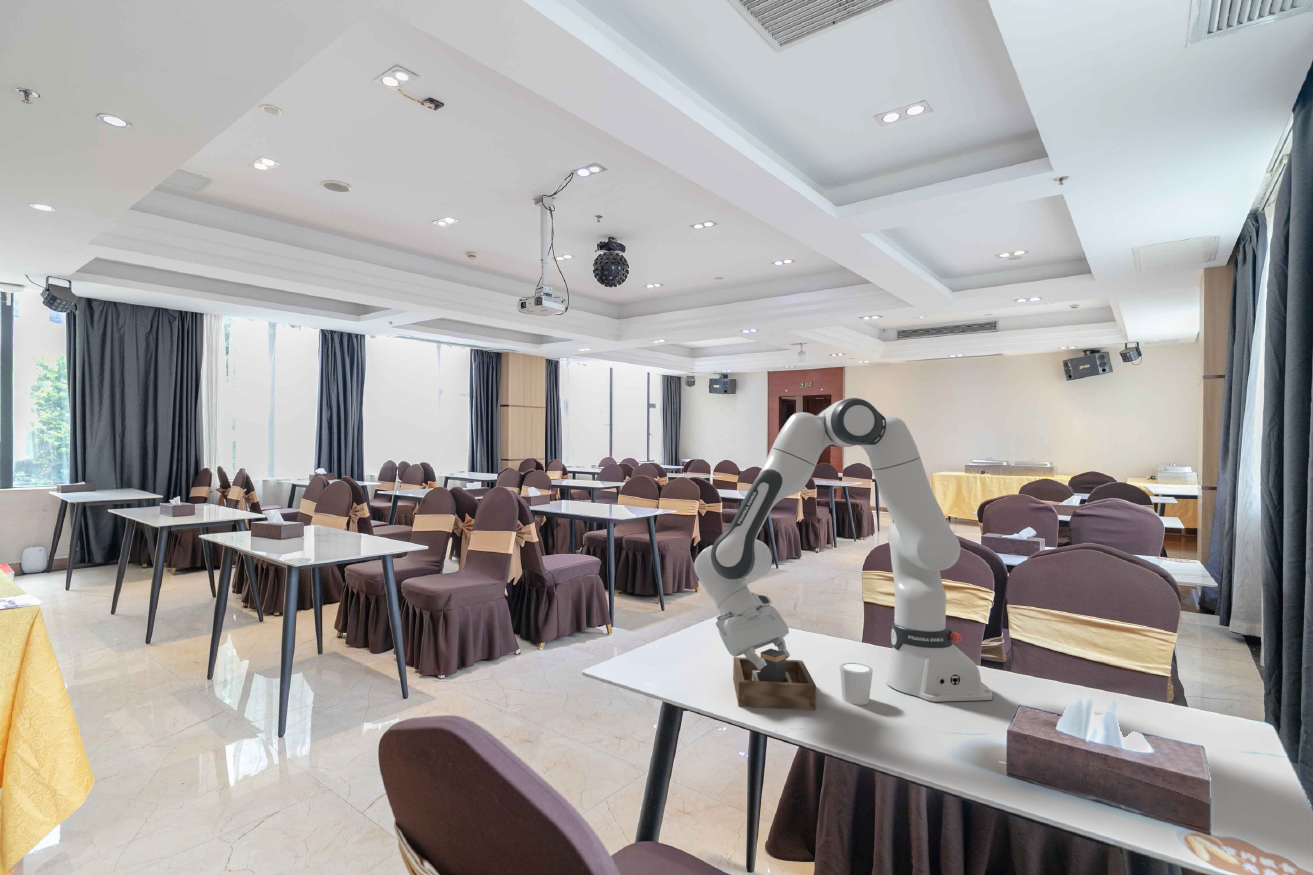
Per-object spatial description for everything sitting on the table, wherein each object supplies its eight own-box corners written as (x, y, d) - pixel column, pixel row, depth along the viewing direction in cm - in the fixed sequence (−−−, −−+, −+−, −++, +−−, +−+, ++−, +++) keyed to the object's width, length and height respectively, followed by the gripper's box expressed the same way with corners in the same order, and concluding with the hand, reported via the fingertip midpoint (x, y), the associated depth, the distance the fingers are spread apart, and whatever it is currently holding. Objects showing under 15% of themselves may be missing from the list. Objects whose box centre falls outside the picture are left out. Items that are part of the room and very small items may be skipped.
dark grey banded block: (769, 683, 143) (770, 648, 143) (785, 688, 140) (786, 652, 140) (759, 688, 140) (760, 652, 140) (775, 693, 137) (776, 656, 137)
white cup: (872, 696, 140) (872, 664, 140) (871, 707, 134) (872, 674, 134) (839, 691, 142) (840, 660, 143) (838, 702, 136) (839, 670, 136)
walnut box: (801, 681, 148) (802, 660, 148) (815, 710, 132) (816, 685, 132) (733, 678, 148) (733, 657, 148) (738, 705, 132) (739, 682, 133)
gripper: (721, 609, 137) (757, 666, 131) (772, 595, 152) (807, 645, 146) (704, 625, 140) (739, 681, 134) (756, 610, 155) (790, 660, 149)
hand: (775, 662), depth 140 cm, fingers open, 8 cm apart
